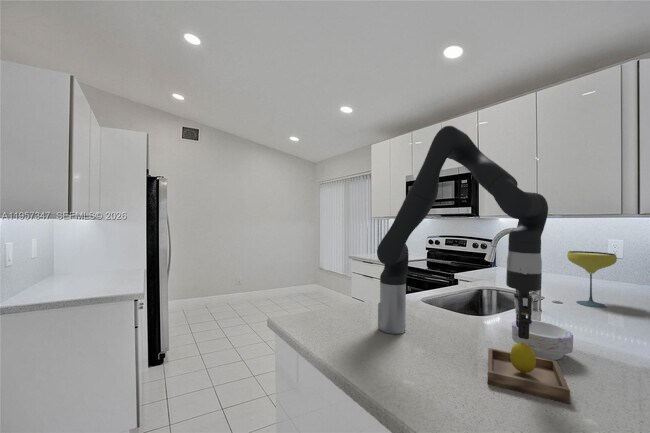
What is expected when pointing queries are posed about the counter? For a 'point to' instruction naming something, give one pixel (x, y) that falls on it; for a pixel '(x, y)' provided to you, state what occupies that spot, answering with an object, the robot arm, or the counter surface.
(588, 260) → the cocktail glass
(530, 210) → the robot arm
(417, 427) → the counter surface
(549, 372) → the walnut tray
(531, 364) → the lemon
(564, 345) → the paper bowls
